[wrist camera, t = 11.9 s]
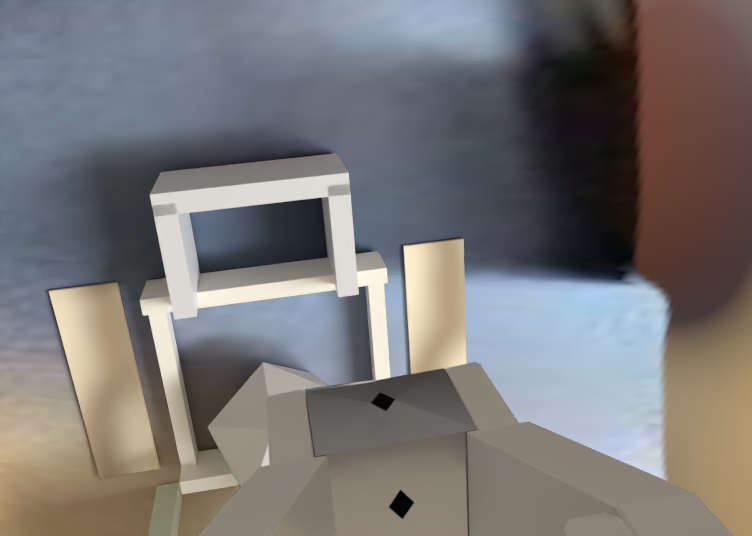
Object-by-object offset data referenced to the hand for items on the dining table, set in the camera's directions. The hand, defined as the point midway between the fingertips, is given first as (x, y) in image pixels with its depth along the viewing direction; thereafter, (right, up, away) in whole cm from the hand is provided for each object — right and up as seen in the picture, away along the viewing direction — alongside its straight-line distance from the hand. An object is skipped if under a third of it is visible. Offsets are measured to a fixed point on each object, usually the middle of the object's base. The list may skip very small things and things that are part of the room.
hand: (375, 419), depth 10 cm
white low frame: (-7, -1, +35) cm, 36 cm away
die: (-7, -7, +38) cm, 39 cm away
